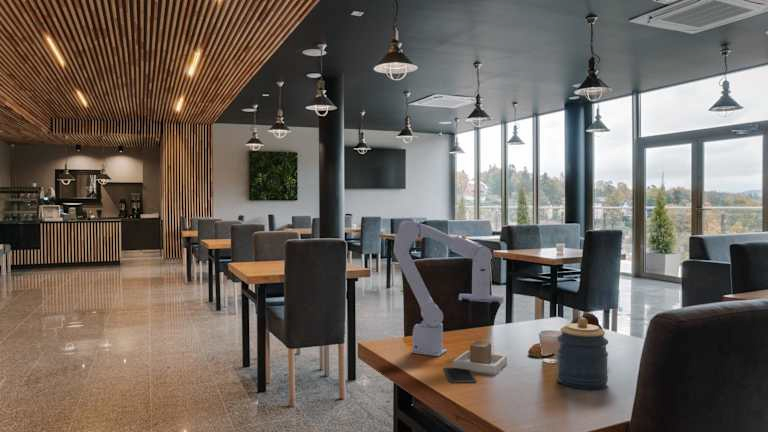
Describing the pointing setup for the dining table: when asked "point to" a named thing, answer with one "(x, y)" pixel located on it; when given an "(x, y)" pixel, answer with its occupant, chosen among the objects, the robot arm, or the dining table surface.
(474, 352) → the beige block
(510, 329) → the dining table surface
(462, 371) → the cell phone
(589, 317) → the ice cream bowl
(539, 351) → the pastry
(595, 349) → the canister
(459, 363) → the bin
